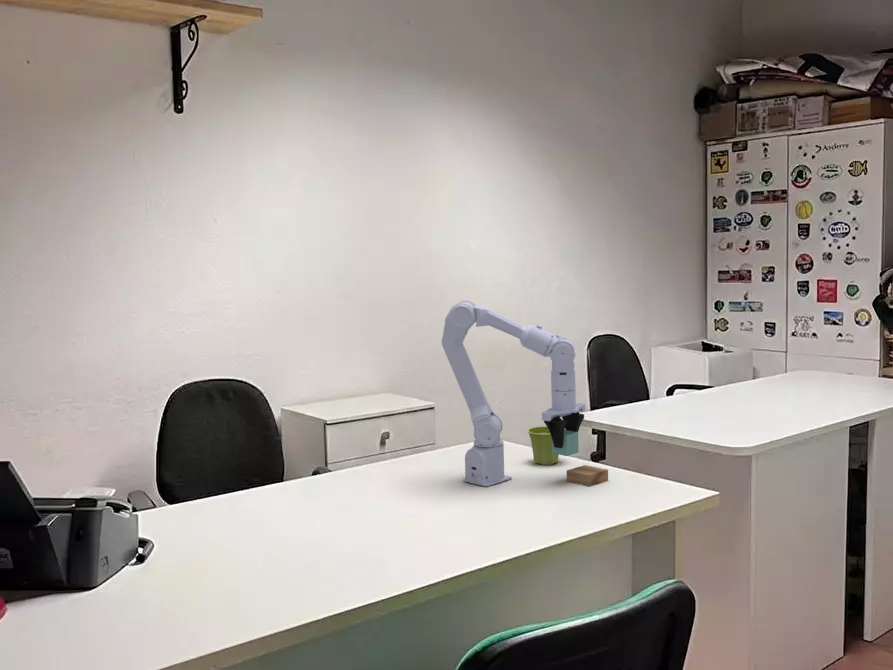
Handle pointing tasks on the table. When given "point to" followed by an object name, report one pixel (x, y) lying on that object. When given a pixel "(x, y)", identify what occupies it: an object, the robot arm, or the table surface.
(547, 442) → the plant pot
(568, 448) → the teal cube
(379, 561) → the table surface
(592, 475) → the walnut slab
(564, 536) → the table surface
